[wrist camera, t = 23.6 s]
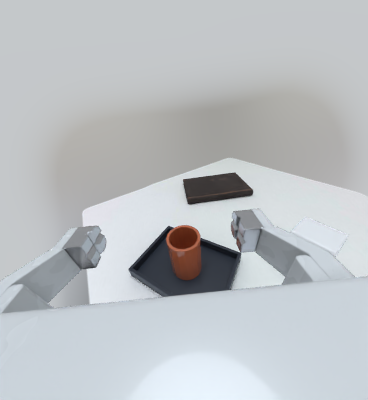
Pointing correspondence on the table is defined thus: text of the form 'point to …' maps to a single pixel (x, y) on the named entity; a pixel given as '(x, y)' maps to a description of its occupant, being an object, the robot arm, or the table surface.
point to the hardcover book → (215, 188)
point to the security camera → (320, 235)
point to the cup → (185, 251)
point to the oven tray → (172, 285)
